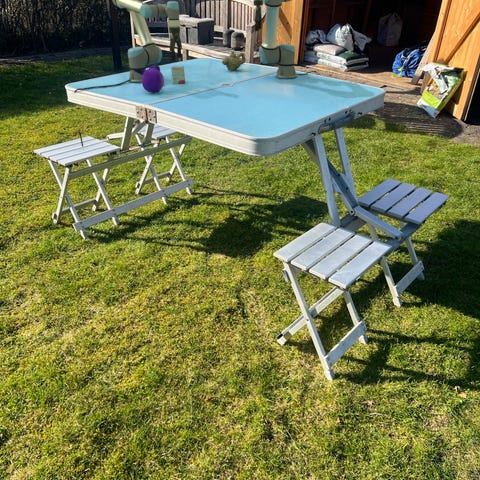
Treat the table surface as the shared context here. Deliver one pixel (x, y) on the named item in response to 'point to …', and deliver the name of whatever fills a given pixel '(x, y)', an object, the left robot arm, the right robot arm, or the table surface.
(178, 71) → the ink box
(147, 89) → the toy
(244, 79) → the table surface
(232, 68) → the teapot
